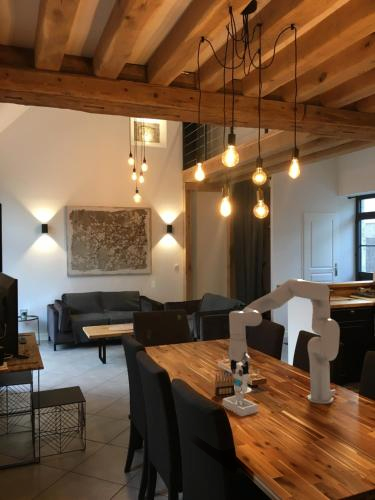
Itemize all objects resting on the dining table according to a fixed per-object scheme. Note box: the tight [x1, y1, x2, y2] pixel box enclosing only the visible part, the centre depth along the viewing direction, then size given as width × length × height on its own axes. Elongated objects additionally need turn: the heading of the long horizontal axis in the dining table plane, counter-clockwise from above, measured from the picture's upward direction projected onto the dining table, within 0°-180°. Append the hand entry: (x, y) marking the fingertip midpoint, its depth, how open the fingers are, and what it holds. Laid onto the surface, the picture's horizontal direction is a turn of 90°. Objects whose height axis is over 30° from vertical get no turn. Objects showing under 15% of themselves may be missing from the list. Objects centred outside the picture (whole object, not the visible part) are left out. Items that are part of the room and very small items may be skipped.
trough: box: [221, 395, 259, 417], centre depth 208 cm, size 10×16×4 cm, turn 30°
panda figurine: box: [230, 361, 253, 394], centre depth 236 cm, size 12×11×15 cm
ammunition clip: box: [214, 371, 235, 397], centre depth 228 cm, size 11×2×12 cm, turn 104°
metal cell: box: [234, 390, 245, 408], centre depth 208 cm, size 4×4×8 cm
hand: (239, 371), depth 208 cm, fingers open, 9 cm apart
